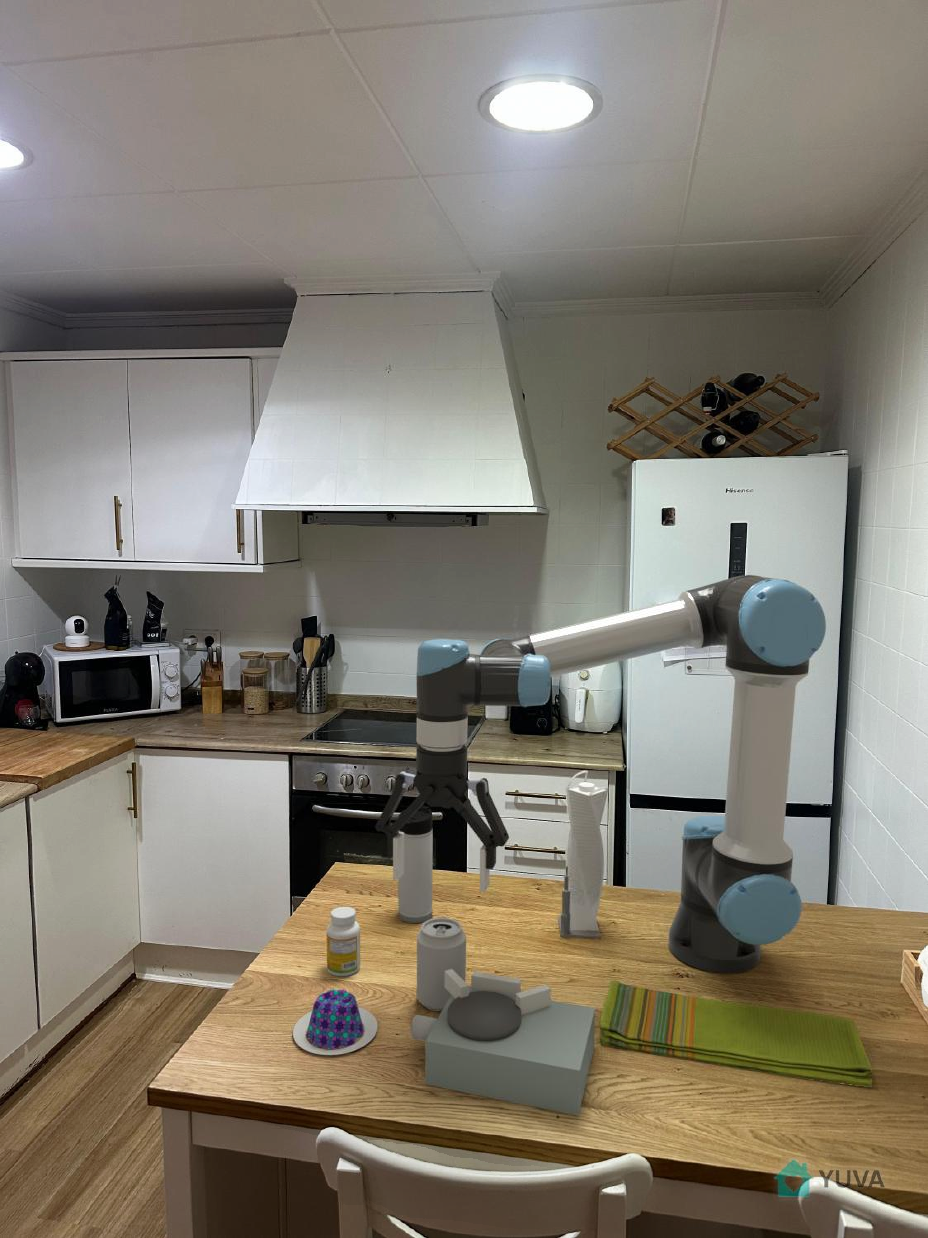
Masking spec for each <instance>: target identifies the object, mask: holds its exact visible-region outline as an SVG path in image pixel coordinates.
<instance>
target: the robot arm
mask: <svg viewBox="0 0 928 1238" xmlns="http://www.w3.org/2000/svg"><path fill="white" fill-rule="evenodd" d="M826 631H827V623H826V615H825V613H824V610H823V607H822V605H821V603H820V602H819V600H818V599H817V598H816V597H815V595H814V594H813V593H812V592H810V591H809V590H808V589H806V588H805V587H803V586H801V585H799V584H797V583H795V582H792V581H790V580H788V579H780V578H773V577H764V576H760V575H759V576H758V575H753V574H745V575H744V574H743V575H738V576H733V577H730V578H727V579H723V580H720V581H716V582H714V583H713V582H712V583H710V584H707V585H703V586H700V587H697V588H692V589H688V590H684V591H682V592H681V593H680V594H679V596H678V598H677V599H674V600H670V601H665V602H661V603H657V604H654V605H653V604H652V605H647V606H645V607H640V608H637V609H636V608H635V609H632V610H628V611H624V612H621V613H620V612H619V613H616V614H613V615H612V614H611V615H607V616H603V617H599V618H594V619H591V620H586V621H583V622H578V623H574V624H570V625H569V624H568V625H566V626H562V627H557V628H553V629H549V630H546V631H541V632H537V633H532V634H528V635H525V636H521V637H517V638H516V637H515V638H511V639H508V638H496V639H493V640H490V641H489V642H487V644H485V645H484V646H483V647H482V649H481V652H480V654H475V653H470V649H469V644H468V643H467V642H466V641H464V640H460V639H451V638H450V639H448V638H441V639H438V638H437V639H436V638H435V639H429V640H426V641H423V642H422V643H421V644H420V645H419V646H418V648H417V656H416V657H417V658H416V659H417V660H416V661H417V662H416V743H417V744H418V746H417V747H416V757H415V758H416V759H415V761H416V764H415V766H416V768H415V769H416V774H412V773H409V771H408V770H407V769H405V770H402V771H401V772H399V773H398V774H397V775H396V776H395V782H394V788H393V791H392V792H391V795H390V797H389V798H388V801H387V803H386V805H385V806H384V809H383V810H382V812H381V814H380V816H379V818H378V820H377V822H376V823H375V826H374V827H375V830H376V831H377V832H383V833H385V835H386V836H387V855H388V856H390V857H392V880H393V881H398V879H399V878H400V877H401V876H402V875H403V874H404V832H398V831H399V830H400V828H401V827H402V826H403V825H404V824H405V823H406V822H407V821H408V820H409V819H410V817H411V816H412V815H413V814H414V813H415V812H416V811H417V810H418V809H419V808H420V807H421V806H423V805H424V804H427V805H428V807H429V808H431V807H432V808H436V807H440V808H443V809H451V808H453V809H454V810H455V812H457V813H458V814H460V815H461V817H462V818H463V819H464V820H465V822H466V823H467V824H468V826H469V827H470V828H471V830H472V831H473V832H474V835H476V836H477V838H478V840H480V842H481V843H482V846H481V847H480V848H479V892H480V893H486V891H487V890H488V888H489V886H490V870H493V869H494V867H495V866H496V863H497V848H498V847H504V846H505V845H506V844H507V842H508V840H509V839H510V836H509V833H508V831H507V829H506V826H505V825H504V822H503V820H502V818H501V816H500V813H499V811H498V809H497V807H496V805H495V802H494V800H493V798H492V796H491V794H490V788H489V781H488V778H485V777H482V778H481V779H480V780H470V779H469V777H468V747H467V746H466V743H468V724H469V723H468V721H469V720H468V715H469V714H468V713H469V712H468V707H469V706H474V707H475V706H476V707H477V706H479V707H480V706H486V707H487V706H488V707H489V706H491V707H495V706H496V707H497V706H499V707H523V708H527V707H532V706H534V707H535V706H544V705H546V703H547V704H548V701H549V699H550V696H551V689H552V687H551V683H552V682H551V681H552V680H551V679H552V678H554V677H559V676H563V675H567V674H571V673H574V672H579V671H584V670H587V669H592V668H596V667H599V666H604V665H609V664H613V663H616V662H621V661H625V660H629V659H630V660H631V659H634V658H638V657H642V656H646V655H650V654H655V653H660V652H664V651H667V650H672V649H677V648H679V647H680V648H681V647H684V646H688V645H689V646H691V647H692V648H694V649H696V650H699V649H703V648H708V647H714V646H715V647H716V646H717V647H718V646H726V652H725V669H726V670H727V671H728V672H729V674H731V675H732V677H733V679H734V687H733V703H732V714H731V715H732V716H731V726H730V727H731V729H730V730H731V731H730V742H729V743H730V744H729V755H728V756H729V757H728V770H727V771H728V772H727V784H726V785H727V786H726V796H725V797H726V798H725V808H724V809H725V810H724V816H720V815H718V816H716V815H705V816H696V817H692V818H690V819H689V820H688V819H687V821H686V822H685V824H684V826H683V834H682V836H681V840H682V853H681V854H682V857H681V859H682V860H681V880H680V881H681V882H680V883H681V884H680V885H681V886H680V902H679V905H678V908H677V910H676V912H675V915H674V918H673V920H672V922H671V925H670V927H669V930H668V931H669V932H668V948H669V951H670V952H671V953H672V955H673V956H674V957H676V958H677V959H678V960H680V961H681V962H683V963H685V964H686V965H689V966H690V967H693V968H696V969H699V970H703V971H707V972H712V973H721V974H737V973H743V972H747V971H749V969H750V970H752V969H753V968H755V967H756V966H758V965H759V963H760V961H761V953H762V951H761V950H762V946H763V945H769V944H773V943H775V942H779V941H780V940H781V939H783V937H785V936H786V935H788V934H789V935H790V934H791V932H792V931H793V930H794V929H795V927H796V926H797V925H798V923H799V920H800V919H801V915H802V910H803V909H802V907H803V905H802V899H801V895H800V894H799V890H798V888H797V887H796V885H794V884H793V882H792V873H793V872H792V871H793V858H794V851H793V850H792V848H791V847H790V845H788V843H787V842H786V841H785V840H784V837H785V836H784V835H785V822H786V810H787V798H788V797H787V796H788V789H789V788H788V786H789V776H790V775H789V773H790V760H791V751H792V749H791V748H792V740H793V739H792V737H793V736H792V735H793V727H794V726H793V724H794V714H795V712H794V711H795V704H796V703H795V701H796V692H797V691H796V688H797V684H799V682H801V681H802V680H803V679H804V678H806V677H807V676H808V675H809V670H810V669H809V668H810V660H811V659H810V658H812V657H813V655H814V654H815V653H816V652H818V651H819V649H820V648H821V646H822V644H823V642H824V638H825V636H826ZM412 784H413V785H414V787H415V789H416V790H417V792H418V793H419V794H418V795H417V797H416V798H415V799H414V800H413V801H412V802H411V804H410V805H408V807H406V809H404V810H405V811H404V810H403V811H404V812H403V814H402V815H401V816H400V817H399V816H398V818H397V819H396V820H395V821H393V822H391V820H392V818H393V816H394V814H395V812H396V810H397V808H398V807H399V806H398V805H399V804H400V803H401V800H402V799H403V796H404V794H405V792H406V790H407V789H408V788H410V787H411V786H412ZM468 790H471V792H472V794H473V796H475V797H476V799H477V802H478V804H479V806H480V809H481V811H482V813H483V815H484V818H485V819H486V820H484V819H483V817H482V816H481V815H480V813H478V811H477V810H476V809H475V807H474V806H473V804H472V802H471V800H470V799H469V797H468V796H467V794H466V793H467V792H468ZM485 821H486V822H487V823H486V822H485ZM761 945H762V946H761Z"/></svg>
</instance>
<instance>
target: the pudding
mask: <svg viewBox="0 0 928 1238" xmlns="http://www.w3.org/2000/svg"><path fill="white" fill-rule="evenodd" d="M377 1032H378V1021H377V1019H376V1018H375V1016H374V1015H373V1014H372V1013H371V1012H369V1011H368V1010H367V1009H364V1008H363V1007H359V1006H358V1003H357V999H356V996H355V994H353V993H351V992H348V991H347V990H345V989H338V990H337V989H330V990H328V991H326V992H322V993H321V994H319V995H318V996H317V998H316V1000H315V1001H314V1003H313V1007H312V1010H311V1011H309V1012H307V1013H306V1014H304V1015H303V1016H301V1017H300V1018H299V1019H298V1020H297V1022H296V1023H295V1025H294V1027H293V1030H292V1036H293V1037H292V1038H293V1040H294V1042H295V1043H296V1045H297V1046H299V1047H300V1048H302V1049H303V1050H305V1051H307V1052H309V1053H313V1054H316V1055H321V1056H322V1055H323V1056H333V1055H334V1056H337V1055H344V1054H348V1053H351V1052H354V1051H356V1050H358V1049H361V1048H362V1047H365V1046H367V1044H368V1043H369V1042H371V1041H372V1040H373V1038H374V1037H375V1036H376V1034H377ZM307 1038H308V1039H310V1040H311V1043H310V1042H309V1041H308V1039H307ZM359 1038H360V1039H359ZM358 1039H359V1040H358ZM357 1040H358V1041H357ZM321 1047H323V1048H321ZM341 1047H344V1048H341Z"/></svg>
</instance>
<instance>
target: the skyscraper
mask: <svg viewBox="0 0 928 1238" xmlns="http://www.w3.org/2000/svg"><path fill="white" fill-rule="evenodd" d="M582 774H585V776H584V780H583V781H582V782H579V783H578V785H575V786H573V787H570V786H571V784H572V782H573V780H574V779H576V778H577V777H578V776H579V775H582ZM588 775H589V771H588V770H587V769H586V770H582V771H581V770H580V771H579V772H578V773H575V774H574V775H573V776H572V777H571V778H570V780H569V781H568V783H567V786H566V788H565V790H566V791H565V792H566V802H567V808H568V809H567V811H568V817H569V818H568V819H569V826H570V829H569V833H568V842H567V849H566V851H567V852H566V865H565V874H564V877H563V878H564V887H563V888H562V891H561V892H562V893H561V894H562V895H561V912H560V916H559V915H557V920H558V928H559V935H560V937H561V938H585V939H587V938H588V939H601V932H600V928H599V923H598V920H597V917H598V912H599V908H600V901H601V896H602V891H603V883H604V872H605V871H604V868H605V859H604V858H605V855H604V843H603V836H602V832H601V828H600V827H601V823H602V819H603V816H604V815H603V814H604V810H605V807H606V806H605V805H606V802H607V797H608V794H609V793H608V792H609V787H608V786H602V787H598V786H595V784H594V783H592V782H587V779H588Z"/></svg>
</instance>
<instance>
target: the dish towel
mask: <svg viewBox="0 0 928 1238" xmlns="http://www.w3.org/2000/svg"><path fill="white" fill-rule="evenodd" d="M608 987H609V988H608V990H607V991H608V992H607V995H606V996H605V999H604V1003H603V1008H602V1012H601V1014H600V1017H599V1018H600V1019H599V1023H600V1024H599V1028H600V1029H599V1030H600V1033H599V1042H598V1043H599V1044H600V1045H601V1046H603V1047H610V1048H612V1047H613V1048H616V1049H620V1050H627V1051H631V1052H632V1051H633V1052H638V1053H644V1054H650V1055H655V1056H663V1057H668V1058H675V1059H681V1060H688V1061H693V1062H697V1063H698V1062H699V1063H705V1064H711V1065H715V1066H722V1067H728V1068H729V1067H730V1068H734V1069H740V1070H748V1071H754V1072H760V1073H766V1074H772V1075H777V1074H778V1076H783V1075H785V1076H784V1077H790V1076H792V1078H796V1077H799V1078H798V1079H802V1078H806V1079H805V1080H808V1079H813V1080H812V1081H815V1080H819V1081H818V1082H821V1081H820V1080H822V1081H823V1083H829V1082H832V1083H831V1084H836V1083H844V1084H852V1085H858V1086H866V1087H865V1088H867V1087H871V1088H873V1079H872V1078H871V1077H872V1076H873V1072H874V1071H873V1069H872V1065H871V1063H870V1061H869V1059H870V1058H869V1057H868V1055H867V1053H866V1050H865V1046H864V1045H863V1042H862V1039H861V1036H860V1034H859V1030H858V1029H857V1024H856V1021H854V1020H853V1019H850V1018H846V1017H842V1016H834V1015H827V1014H821V1013H815V1012H809V1011H802V1010H797V1009H796V1010H795V1009H788V1008H779V1007H773V1006H772V1007H771V1006H760V1005H753V1004H749V1003H748V1004H747V1003H740V1002H732V1001H727V1000H717V999H710V998H704V997H700V996H699V997H698V996H691V995H687V994H686V995H685V994H681V993H680V994H679V993H673V992H668V991H662V990H656V989H650V988H645V987H638V986H632V985H627V984H624V983H622V982H619V981H617V980H611V981H610V983H609V986H608ZM824 1081H825V1082H824ZM844 1084H843V1085H844ZM858 1086H857V1087H858Z"/></svg>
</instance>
